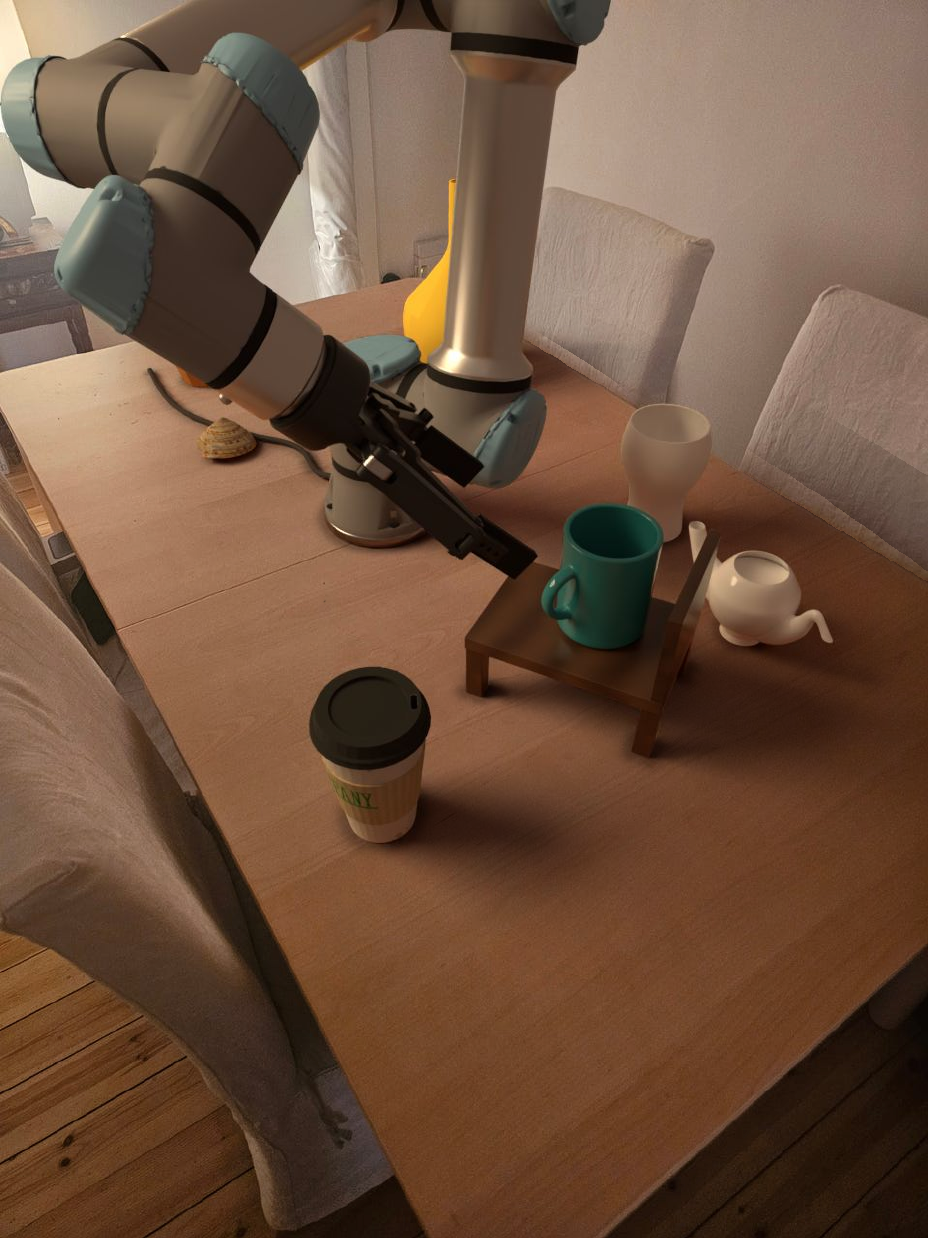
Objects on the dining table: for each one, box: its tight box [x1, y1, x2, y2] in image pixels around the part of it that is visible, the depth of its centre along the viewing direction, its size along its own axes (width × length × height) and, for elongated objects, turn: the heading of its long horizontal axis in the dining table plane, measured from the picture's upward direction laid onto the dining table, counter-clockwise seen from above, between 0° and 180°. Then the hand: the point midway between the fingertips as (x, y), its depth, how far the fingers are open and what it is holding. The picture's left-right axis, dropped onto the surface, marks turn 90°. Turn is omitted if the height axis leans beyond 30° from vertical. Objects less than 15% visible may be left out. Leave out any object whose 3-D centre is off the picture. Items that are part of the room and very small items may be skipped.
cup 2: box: [619, 403, 713, 543], centre depth 102 cm, size 11×11×15 cm
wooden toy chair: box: [464, 528, 723, 759], centre depth 81 cm, size 20×14×18 cm
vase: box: [402, 178, 456, 363], centre depth 129 cm, size 18×18×30 cm
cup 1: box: [541, 502, 664, 649], centre depth 78 cm, size 9×12×11 cm
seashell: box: [194, 417, 258, 459], centre depth 121 cm, size 8×6×8 cm
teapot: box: [688, 520, 834, 647], centre depth 89 cm, size 10×20×9 cm, turn 34°
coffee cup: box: [308, 666, 432, 844], centre depth 70 cm, size 10×10×15 cm
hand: (497, 517), depth 70 cm, fingers open, 13 cm apart
